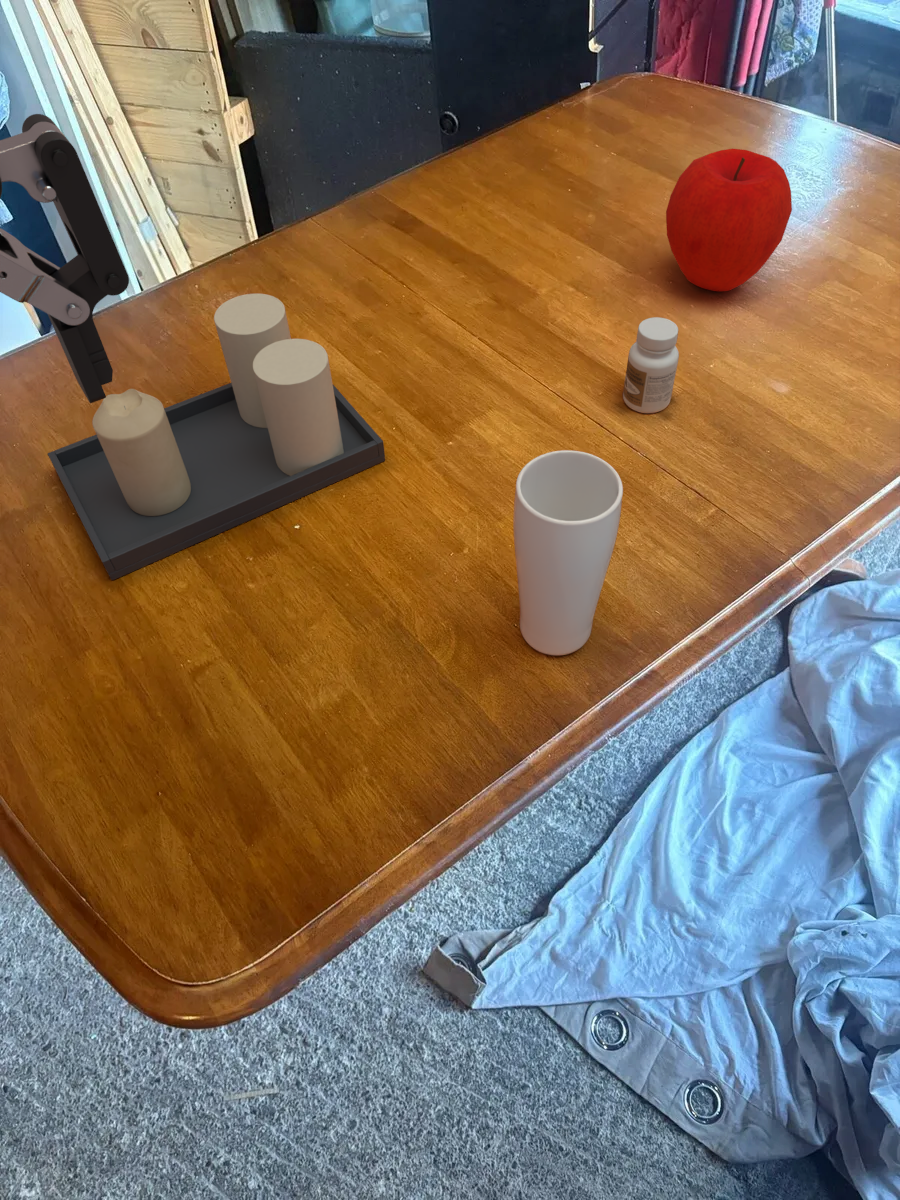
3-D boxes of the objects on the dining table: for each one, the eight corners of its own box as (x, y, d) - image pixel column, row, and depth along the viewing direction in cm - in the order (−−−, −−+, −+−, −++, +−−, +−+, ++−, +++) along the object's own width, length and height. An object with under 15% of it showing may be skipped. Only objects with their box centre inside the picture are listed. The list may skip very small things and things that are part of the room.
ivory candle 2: (293, 488, 76) (271, 394, 68) (264, 449, 79) (240, 354, 72) (355, 461, 78) (341, 366, 70) (324, 424, 81) (307, 329, 73)
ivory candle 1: (255, 437, 80) (230, 342, 73) (229, 401, 84) (202, 308, 76) (315, 412, 82) (297, 318, 74) (287, 379, 86) (267, 285, 78)
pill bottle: (616, 388, 84) (626, 317, 78) (660, 381, 85) (673, 310, 79) (630, 418, 82) (642, 346, 75) (676, 410, 82) (691, 339, 76)
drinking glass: (514, 591, 69) (519, 444, 57) (602, 598, 68) (625, 451, 57) (505, 662, 65) (509, 520, 53) (598, 671, 64) (623, 529, 53)
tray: (111, 581, 71) (102, 562, 69) (56, 472, 79) (47, 453, 78) (385, 460, 79) (383, 441, 77) (309, 373, 87) (306, 353, 85)
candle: (114, 508, 75) (70, 415, 67) (149, 466, 78) (111, 372, 71) (170, 523, 74) (133, 430, 66) (203, 479, 77) (171, 385, 69)
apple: (656, 314, 92) (678, 185, 81) (652, 252, 99) (672, 127, 88) (774, 318, 90) (812, 188, 80) (762, 256, 98) (795, 129, 87)
